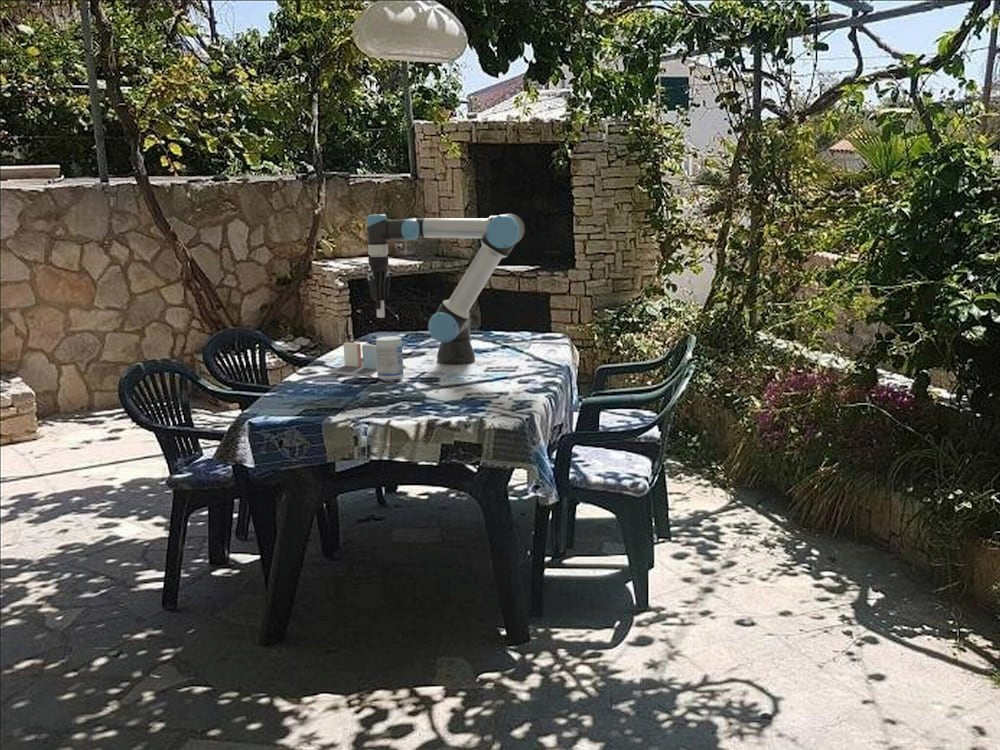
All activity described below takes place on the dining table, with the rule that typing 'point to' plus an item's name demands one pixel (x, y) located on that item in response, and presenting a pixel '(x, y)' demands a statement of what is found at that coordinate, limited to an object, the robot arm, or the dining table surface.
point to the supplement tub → (389, 358)
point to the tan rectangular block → (369, 356)
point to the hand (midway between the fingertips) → (380, 317)
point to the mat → (350, 370)
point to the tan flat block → (352, 354)
